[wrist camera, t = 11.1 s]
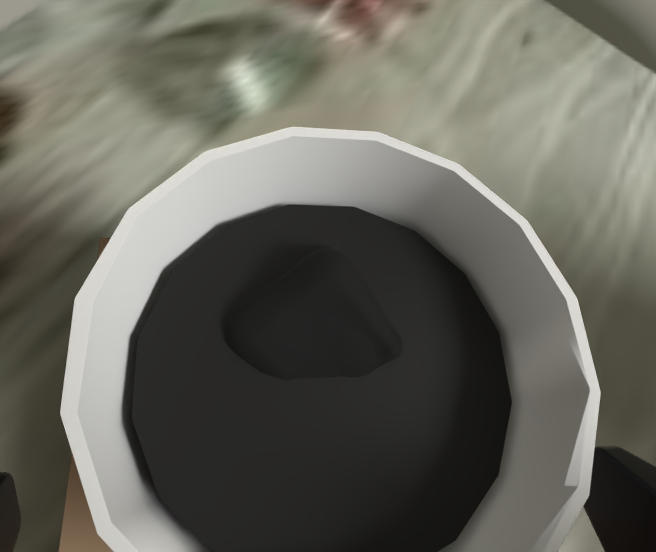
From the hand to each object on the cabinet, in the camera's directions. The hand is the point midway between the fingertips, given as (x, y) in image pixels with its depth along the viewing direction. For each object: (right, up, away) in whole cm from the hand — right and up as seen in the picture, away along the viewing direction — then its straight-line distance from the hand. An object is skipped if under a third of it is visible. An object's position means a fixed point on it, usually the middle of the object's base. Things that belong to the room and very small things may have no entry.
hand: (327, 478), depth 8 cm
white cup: (-1, -1, +8) cm, 8 cm away
